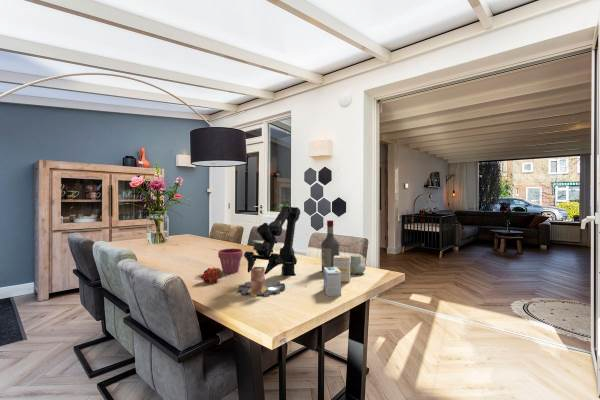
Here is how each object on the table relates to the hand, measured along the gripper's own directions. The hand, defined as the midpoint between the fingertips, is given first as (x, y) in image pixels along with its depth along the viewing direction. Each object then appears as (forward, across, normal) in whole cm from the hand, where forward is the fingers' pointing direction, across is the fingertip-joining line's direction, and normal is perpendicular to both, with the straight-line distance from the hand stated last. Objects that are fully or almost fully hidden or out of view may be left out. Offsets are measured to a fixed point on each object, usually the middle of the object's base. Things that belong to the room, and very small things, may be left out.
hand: (256, 273), depth 145 cm
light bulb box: (-3, +32, +17) cm, 37 cm away
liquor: (-29, +20, +42) cm, 55 cm away
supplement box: (-17, +32, +30) cm, 47 cm away
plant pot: (-13, -35, +27) cm, 46 cm away
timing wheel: (+2, -1, +11) cm, 11 cm away
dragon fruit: (+2, -32, +11) cm, 34 cm away
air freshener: (-30, +35, +44) cm, 63 cm away
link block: (+5, 0, +7) cm, 8 cm away
